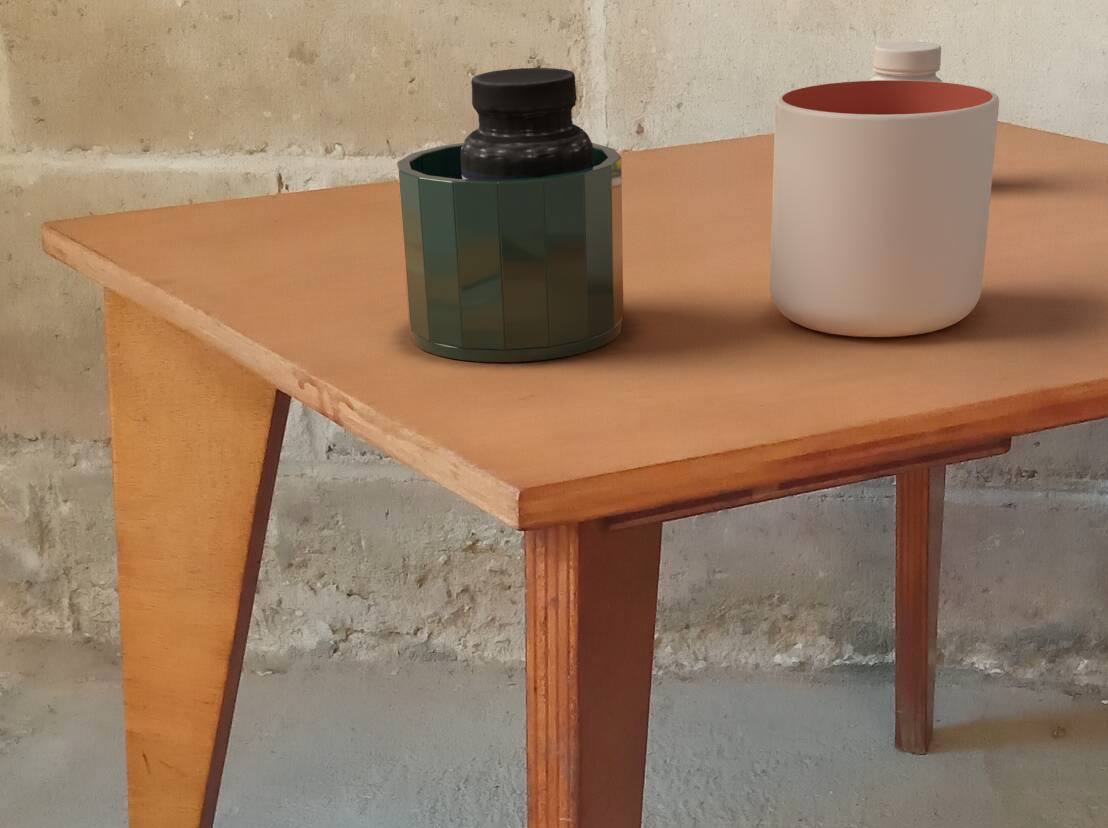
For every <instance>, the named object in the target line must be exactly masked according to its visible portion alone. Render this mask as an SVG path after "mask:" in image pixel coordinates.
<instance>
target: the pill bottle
mask: <svg viewBox="0 0 1108 828" xmlns="http://www.w3.org/2000/svg"><path fill="white" fill-rule="evenodd" d="M470 83H471V84H470V85H471V106H472V108H473V109H474V110H475V112H476V113H477V115H478V119H477V120H478V127H477V129H475V130H473V131H472V132H471V133H470V134H468V135H467V136H466V138H465V139H464V141H463V142H462V143H463V145H462V148H461V156H460V158H461V171H462V179H478V180H505V179H521V178H537V177H545V176H551V175H558V174H565V173H571V172H577V171H580V170H584V169H587V168H591V167H593V153H594V152H593V145H592V143H593V142H592V140H591V138H590V136H589V134H588V133H587V132H586V131H585V130H584V129H583V128H582V127H580V126H578V125H577V124H574V122H573V112H572V111H573V108H574V107H575V106H576V104H577V89H576V88H577V85H576V75H575V72H573V71H572V70H568V69H563V68H554V67H521V68H509V69H500V70H492V71H487V72H483V73H480V74H477V75H474V76H473V77H471V82H470Z"/></svg>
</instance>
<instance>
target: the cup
mask: <svg viewBox="0 0 1108 828" xmlns="http://www.w3.org/2000/svg"><path fill="white" fill-rule="evenodd" d="M774 103H775V104H774V132H773V135H774V137H773V164H772V165H773V167H772V168H773V169H772V170H773V171H772V199H771V200H772V201H771V230H770V231H771V235H770V236H771V237H770V262H769V263H770V264H769V265H770V266H769V270H770V271H769V292H770V296H771V299H772V302H773V303H774V305H775V307H776V308H777V309H778V311H779V312H780V314H782V315H783V317H786V318H787V319H788V320H789V321H790V322H793V323H795V324H797V325H800V326H802V327H804V328H807V329H809V330H813V331H817V332H820V333H825V334H831V335H836V336H837V335H838V336H846V337H857V338H858V337H860V338H895V337H906V336H907V337H908V336H916V335H922V334H927V333H928V334H929V333H932V332H936V331H939V330H942V329H946V328H948V327H950V326H953V325H955V324H956V323H958V322H960V321H961V320H963V319H965V318H966V317H967V316H968V315H969V314H970V313H971V312H972V311H973V310H974V309H975V307H976V306H977V304H978V302H979V300H980V298H981V295H982V290H983V280H984V271H985V260H986V259H985V258H986V249H987V240H988V239H987V238H988V227H989V215H990V207H991V206H990V205H991V194H992V184H993V183H992V182H993V174H994V163H995V152H996V151H995V150H996V141H997V131H998V129H997V128H998V120H999V109H1000V98H999V96H998V95H997V94H996V93H995V92H993V91H991V90H990V89H986V88H982V87H978V86H975V85H970V84H962V83H957V82H956V83H955V82H948V81H947V82H946V81H942V82H936V81H917V80H870V79H868V80H851V81H838V82H828V83H821V84H814V85H807V86H802V87H799V88H794V89H790V90H788V91H786V92H783V93H782V94H780V95H778V96H777V97H776V99H775V102H774Z"/></svg>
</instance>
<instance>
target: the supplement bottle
mask: <svg viewBox="0 0 1108 828" xmlns="http://www.w3.org/2000/svg"><path fill="white" fill-rule="evenodd" d="M941 61H942V45H941V44H938V43H933V42H926V41H925V42H924V41H893V42H885V43H879V44H877V45H875V46H874V49H873V60H872V71H873V72H874V73H875V76H873V77H872V78H870V79H869V80H917V81H936V82H943V80H942V79H941V78H940V77H938V76H937V75H936V73H938V72H939V71H941Z"/></svg>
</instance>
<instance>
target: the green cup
mask: <svg viewBox="0 0 1108 828" xmlns="http://www.w3.org/2000/svg"><path fill="white" fill-rule="evenodd" d="M463 143H464V142H460V143H452V144H445V145H444V144H443V145H439V146H435V147H431V148H428V149H427V148H426V149H424V150H419V151H416V152H412V153H410V154H409V155H407V156H405V157H403V158H401V159H400V160H398V161H397V162H396V171H397V183H398V199H399V210H400V223H401V226H400V227H401V236H402V238H401V239H402V249H403V250H402V251H403V263H404V265H403V266H404V276H405V277H404V278H405V288H406V289H405V290H406V304H407V315H408V324H409V333H410V339H411V342H412V343H413V344H414V345H415V346H416V347H418V348H419V349H421V350H423V351H424V352H427V353H430V354H433V355H436V356H439V357H443V358H446V359H447V358H448V359H452V360H453V359H454V360H460V361H468V362H479V363H523V362H525V363H526V362H527V363H528V362H537V361H548V360H554V359H559V358H561V359H562V358H566V357H571V356H575V355H579V354H583V353H586V352H590V351H593V350H596V349H598V348H601V347H603V346H605V345H607V344H609V343H611V342H612V341H615V340H616V339H617V338H618V337H619V335H620V334H621V332H622V327H623V322H622V321H623V318H624V256H623V255H624V254H623V253H624V252H623V251H624V250H623V246H624V245H623V184H622V183H623V181H622V179H623V177H622V176H623V175H622V174H623V173H622V171H623V169H622V156H621V155H620V154H619V152H618V151H617V150H616V149H615V148H612V147H609V146H605V145H603V144H598V143H594V142H592V145H593V152H594V153H593V167H591V168H587V169H584V170H580V171H577V172H571V173H565V174H558V175H551V176H545V177H537V178H521V179H505V180H478V179H462V171H461V158H460V156H461V148H462V145H463Z"/></svg>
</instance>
